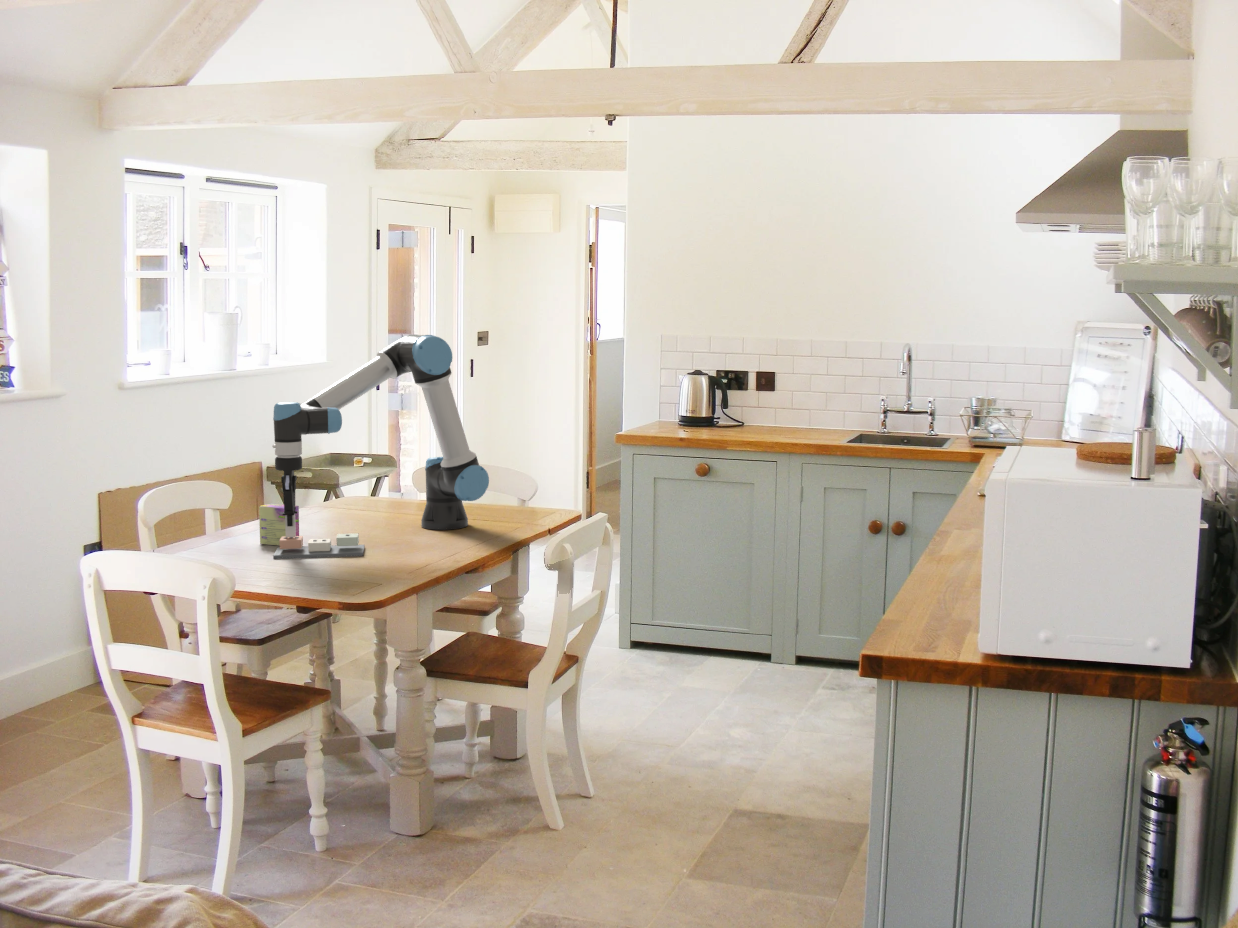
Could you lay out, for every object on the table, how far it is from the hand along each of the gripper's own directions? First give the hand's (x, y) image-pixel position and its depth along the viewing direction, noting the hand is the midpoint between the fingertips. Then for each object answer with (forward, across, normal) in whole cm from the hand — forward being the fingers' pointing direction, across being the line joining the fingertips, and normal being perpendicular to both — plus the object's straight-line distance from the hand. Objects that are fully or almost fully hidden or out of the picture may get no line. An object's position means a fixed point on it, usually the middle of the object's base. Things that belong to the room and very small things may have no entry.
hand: (290, 536), depth 347 cm
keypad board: (+5, 0, +8) cm, 10 cm away
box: (+5, -16, -5) cm, 18 cm away
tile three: (+3, 0, 0) cm, 3 cm away
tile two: (+4, 0, +8) cm, 9 cm away
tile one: (+3, 0, +16) cm, 16 cm away
